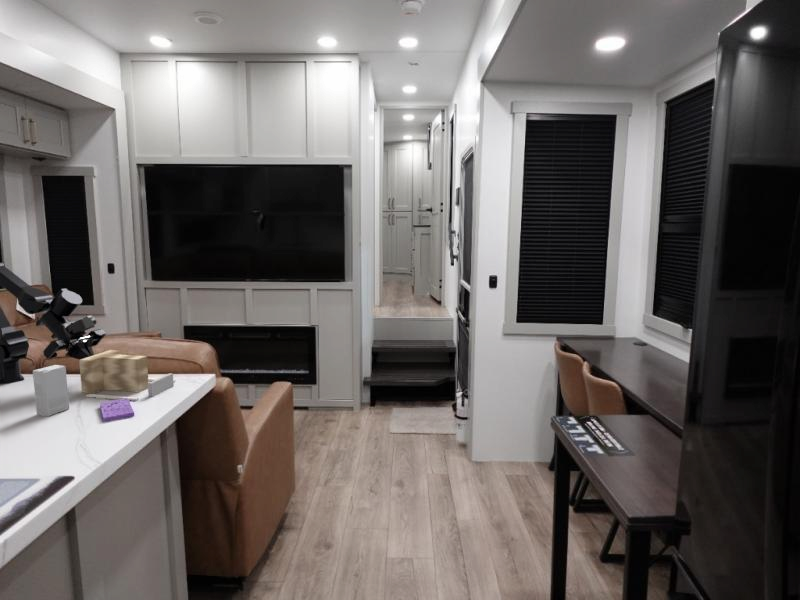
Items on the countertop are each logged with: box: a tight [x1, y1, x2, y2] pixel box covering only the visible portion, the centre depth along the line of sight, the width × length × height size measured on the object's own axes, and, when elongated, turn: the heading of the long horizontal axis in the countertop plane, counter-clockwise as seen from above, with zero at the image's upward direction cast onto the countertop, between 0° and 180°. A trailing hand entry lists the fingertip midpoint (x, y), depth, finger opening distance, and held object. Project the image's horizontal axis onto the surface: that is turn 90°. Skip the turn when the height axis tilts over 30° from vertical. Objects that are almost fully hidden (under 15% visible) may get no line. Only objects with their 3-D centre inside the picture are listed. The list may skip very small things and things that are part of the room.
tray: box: [86, 372, 176, 402], centre depth 148 cm, size 18×18×4 cm
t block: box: [78, 349, 149, 394], centre depth 148 cm, size 16×12×10 cm
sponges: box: [99, 398, 135, 423], centre depth 130 cm, size 7×13×2 cm, turn 35°
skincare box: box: [32, 364, 70, 417], centre depth 128 cm, size 6×4×12 cm
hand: (95, 363), depth 149 cm, fingers closed, pressing on t block
